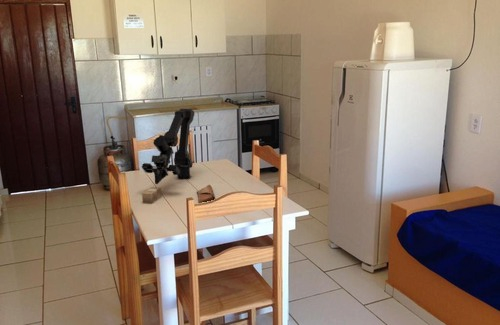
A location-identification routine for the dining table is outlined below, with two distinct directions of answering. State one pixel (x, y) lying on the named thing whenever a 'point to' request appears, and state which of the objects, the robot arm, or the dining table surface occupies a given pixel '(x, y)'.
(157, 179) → the robot arm
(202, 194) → the sunglasses case
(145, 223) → the dining table surface
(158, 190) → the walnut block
